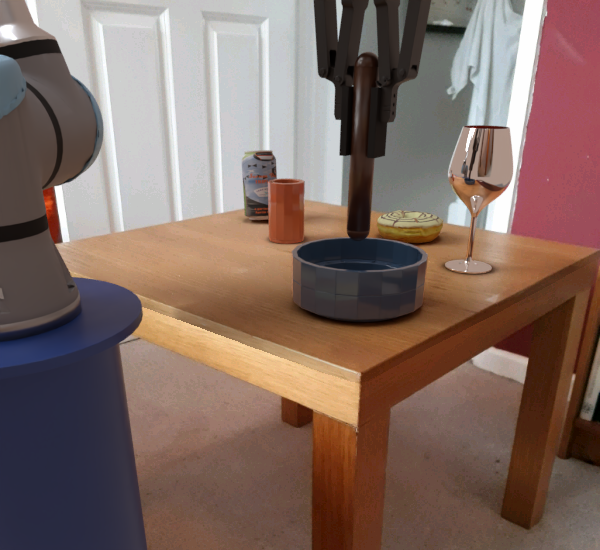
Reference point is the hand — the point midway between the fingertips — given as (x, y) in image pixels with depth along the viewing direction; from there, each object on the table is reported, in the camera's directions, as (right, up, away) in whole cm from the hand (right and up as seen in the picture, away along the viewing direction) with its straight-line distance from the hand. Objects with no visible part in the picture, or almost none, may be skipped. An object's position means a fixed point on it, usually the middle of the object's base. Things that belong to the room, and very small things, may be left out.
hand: (362, 155), depth 67 cm
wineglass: (+17, -8, +21) cm, 28 cm away
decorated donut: (+11, +1, +37) cm, 39 cm away
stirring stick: (0, -8, +4) cm, 9 cm away
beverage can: (-14, +7, +49) cm, 51 cm away
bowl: (0, -15, +8) cm, 16 cm away
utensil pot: (-9, 0, +35) cm, 36 cm away
